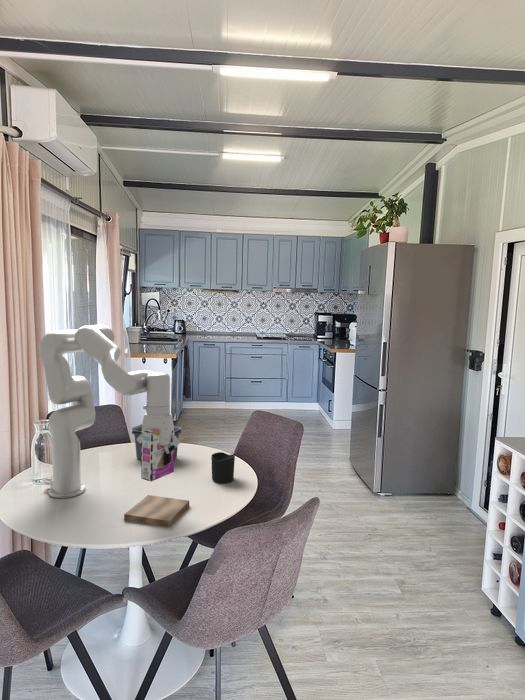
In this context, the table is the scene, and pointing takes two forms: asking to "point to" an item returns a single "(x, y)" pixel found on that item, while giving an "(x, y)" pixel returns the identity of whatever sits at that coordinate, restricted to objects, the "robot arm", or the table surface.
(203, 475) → the table surface
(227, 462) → the pen holder
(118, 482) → the table surface
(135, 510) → the walnut board
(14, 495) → the table surface
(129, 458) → the table surface
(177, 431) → the storage bin
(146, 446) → the candy bar box
